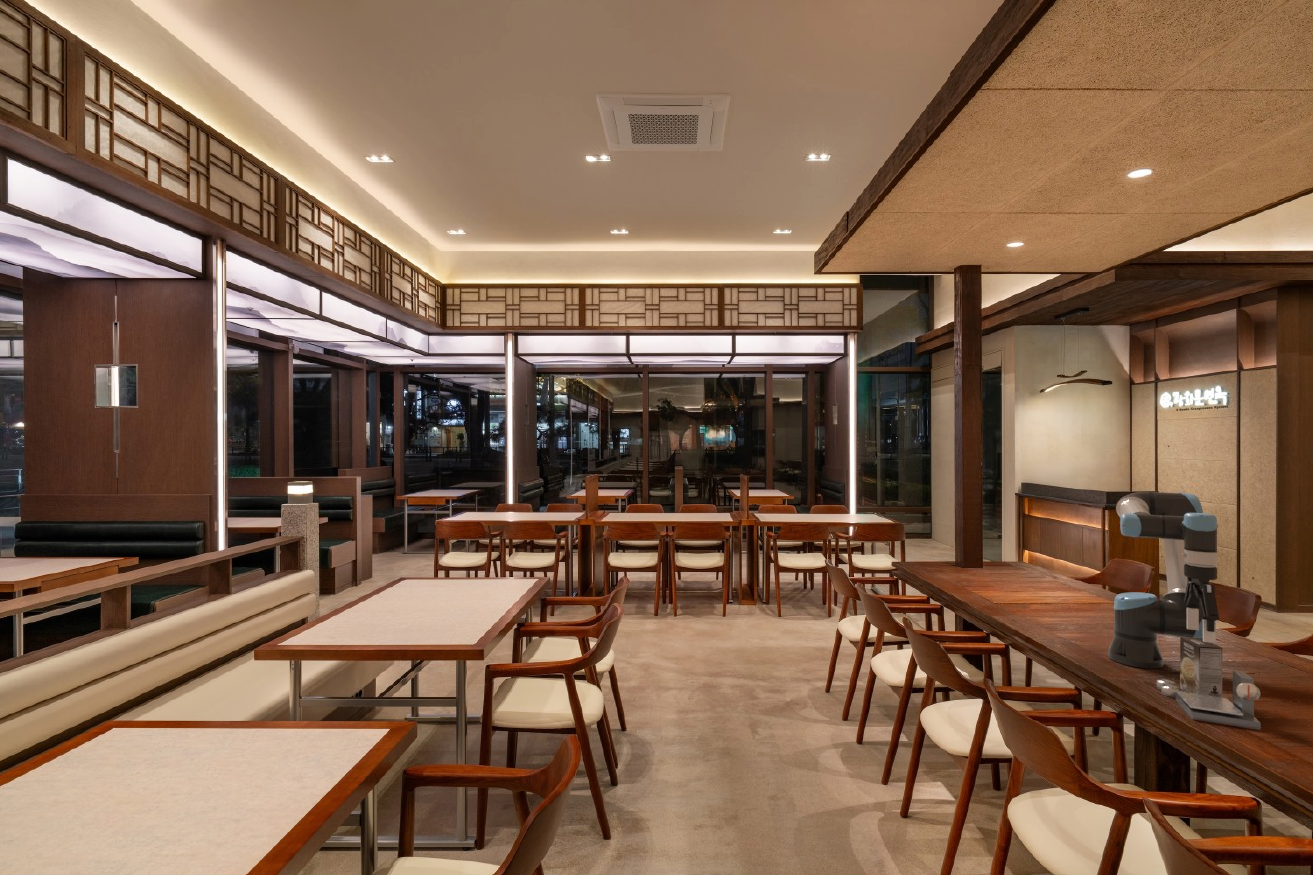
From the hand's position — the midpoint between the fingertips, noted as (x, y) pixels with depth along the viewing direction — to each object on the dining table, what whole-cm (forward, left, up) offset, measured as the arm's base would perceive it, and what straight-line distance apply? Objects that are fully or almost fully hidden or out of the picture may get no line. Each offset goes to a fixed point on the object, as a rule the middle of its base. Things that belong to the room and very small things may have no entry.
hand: (1200, 635), depth 182 cm
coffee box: (0, 0, -18) cm, 18 cm away
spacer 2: (+4, -8, -18) cm, 20 cm away
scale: (+15, -1, -18) cm, 23 cm away
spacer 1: (-1, -8, -18) cm, 20 cm away
